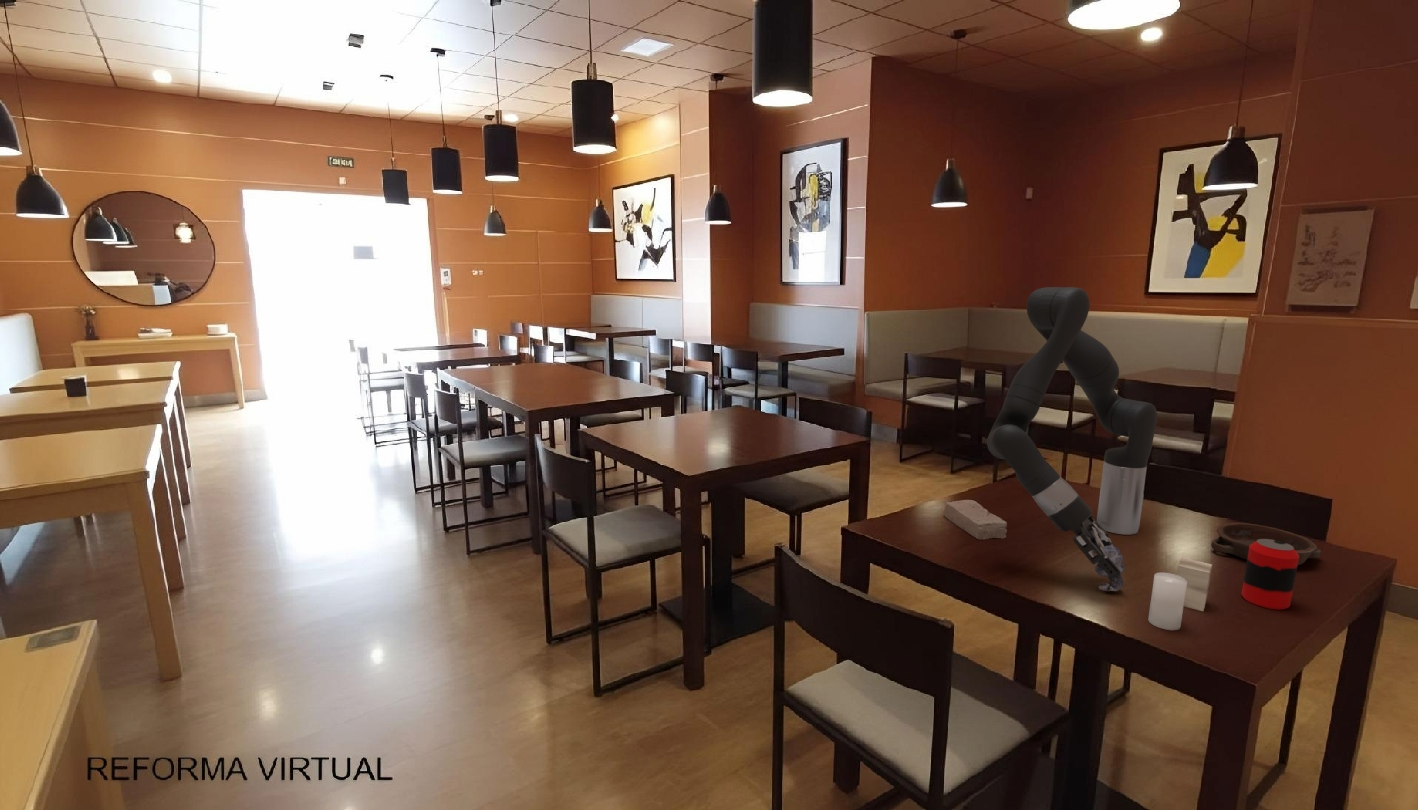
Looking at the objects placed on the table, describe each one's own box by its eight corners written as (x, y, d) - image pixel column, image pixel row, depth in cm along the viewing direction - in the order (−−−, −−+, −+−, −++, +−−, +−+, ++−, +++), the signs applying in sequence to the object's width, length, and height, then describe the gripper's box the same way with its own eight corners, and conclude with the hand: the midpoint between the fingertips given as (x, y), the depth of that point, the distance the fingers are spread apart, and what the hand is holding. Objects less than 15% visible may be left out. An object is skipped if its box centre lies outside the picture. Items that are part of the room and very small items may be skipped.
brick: (1008, 538, 167) (1010, 520, 166) (977, 541, 165) (978, 522, 165) (971, 515, 183) (972, 499, 182) (942, 517, 181) (943, 500, 181)
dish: (1189, 539, 167) (1192, 520, 166) (1287, 543, 164) (1290, 524, 163) (1233, 569, 150) (1237, 548, 149) (1344, 575, 147) (1348, 553, 146)
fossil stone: (1112, 598, 136) (1118, 551, 134) (1087, 587, 141) (1092, 542, 139) (1128, 592, 138) (1134, 546, 136) (1103, 582, 143) (1108, 537, 141)
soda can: (1295, 603, 134) (1306, 546, 132) (1281, 614, 130) (1291, 555, 128) (1250, 588, 140) (1259, 534, 138) (1234, 598, 136) (1243, 542, 134)
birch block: (1175, 594, 138) (1181, 557, 136) (1206, 602, 135) (1212, 564, 133) (1172, 603, 134) (1178, 565, 133) (1203, 611, 131) (1209, 572, 129)
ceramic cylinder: (1157, 614, 130) (1163, 570, 128) (1185, 625, 126) (1192, 580, 124) (1142, 620, 127) (1148, 575, 126) (1171, 632, 123) (1178, 586, 121)
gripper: (1073, 503, 134) (1133, 571, 130) (1080, 485, 146) (1136, 547, 142) (1040, 523, 138) (1098, 590, 134) (1050, 503, 150) (1104, 565, 146)
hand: (1118, 568), depth 138 cm, fingers open, 8 cm apart
